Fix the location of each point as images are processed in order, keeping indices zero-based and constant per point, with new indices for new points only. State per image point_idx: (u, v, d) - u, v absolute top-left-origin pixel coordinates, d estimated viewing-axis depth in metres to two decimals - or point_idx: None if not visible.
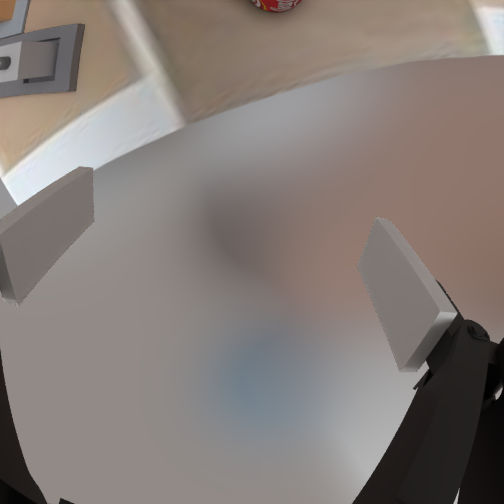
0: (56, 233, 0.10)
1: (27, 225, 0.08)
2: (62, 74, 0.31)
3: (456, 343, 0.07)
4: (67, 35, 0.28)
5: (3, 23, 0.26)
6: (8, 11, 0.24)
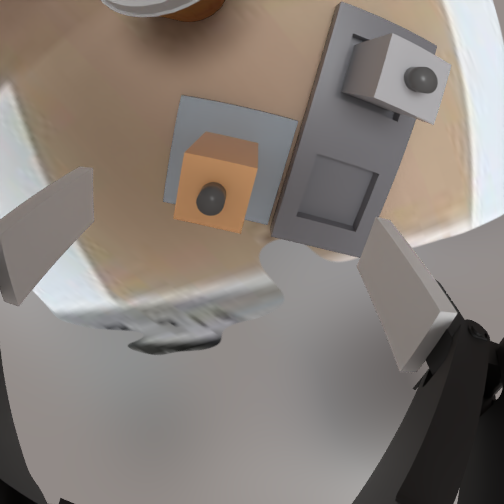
0: (56, 233, 0.10)
1: (27, 225, 0.08)
2: None
3: (456, 343, 0.07)
4: (355, 21, 0.20)
5: None
6: (243, 142, 0.27)
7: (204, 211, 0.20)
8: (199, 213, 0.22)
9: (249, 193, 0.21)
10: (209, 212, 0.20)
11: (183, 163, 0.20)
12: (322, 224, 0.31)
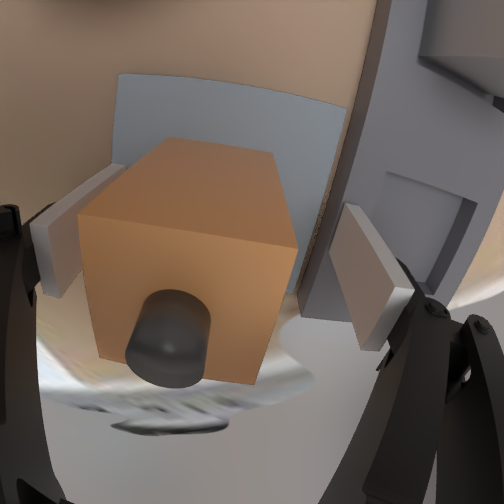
0: None
1: (71, 218, 0.09)
2: None
3: (414, 322, 0.07)
4: None
5: None
6: (243, 154, 0.13)
7: (154, 380, 0.07)
8: None
9: (274, 312, 0.08)
10: (167, 382, 0.07)
11: (82, 243, 0.07)
12: None
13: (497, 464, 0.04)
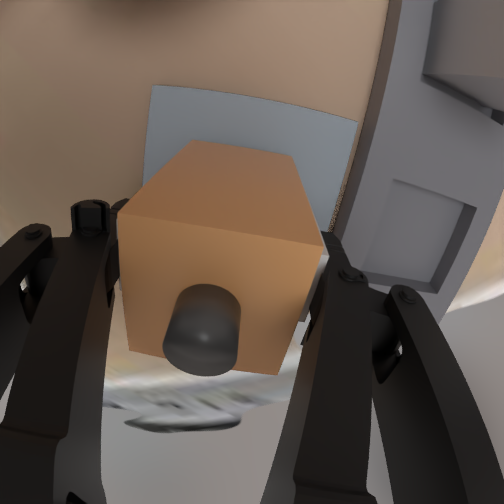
0: None
1: None
2: None
3: (327, 292, 0.08)
4: None
5: None
6: (264, 157, 0.14)
7: (188, 368, 0.07)
8: None
9: (299, 305, 0.08)
10: (201, 370, 0.07)
11: (121, 240, 0.07)
12: None
13: (449, 448, 0.04)
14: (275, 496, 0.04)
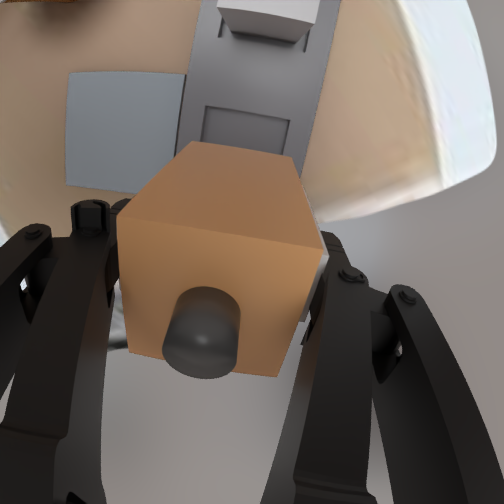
0: None
1: None
2: None
3: (327, 292, 0.08)
4: None
5: (145, 131, 0.24)
6: (264, 158, 0.14)
7: (187, 371, 0.07)
8: None
9: (299, 307, 0.08)
10: (200, 373, 0.07)
11: (120, 243, 0.07)
12: None
13: (449, 449, 0.04)
14: (275, 496, 0.04)
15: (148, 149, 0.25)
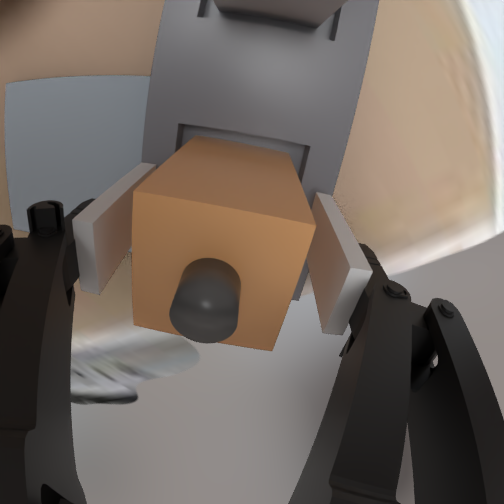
0: (129, 225, 0.12)
1: (112, 215, 0.10)
2: None
3: (372, 305, 0.08)
4: None
5: (99, 161, 0.16)
6: (263, 152, 0.15)
7: (191, 335, 0.08)
8: None
9: (294, 280, 0.09)
10: (203, 337, 0.08)
11: (134, 216, 0.08)
12: None
13: (474, 455, 0.04)
14: (306, 500, 0.04)
15: (105, 186, 0.17)
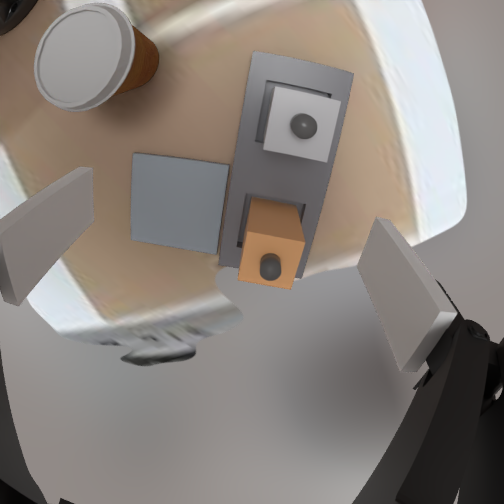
0: (56, 233, 0.10)
1: (27, 225, 0.08)
2: (326, 79, 0.26)
3: (456, 343, 0.07)
4: (267, 67, 0.26)
5: (198, 206, 0.35)
6: (284, 207, 0.33)
7: (266, 277, 0.27)
8: (258, 276, 0.28)
9: (298, 260, 0.28)
10: (269, 278, 0.27)
11: (246, 239, 0.27)
12: None
13: None
14: None
15: (200, 219, 0.36)
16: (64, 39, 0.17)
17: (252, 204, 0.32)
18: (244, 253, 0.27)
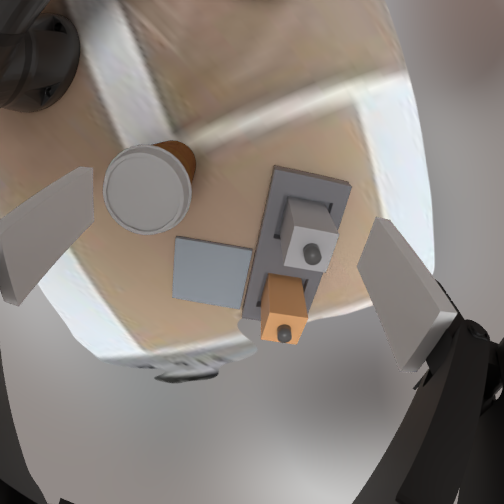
0: (56, 233, 0.10)
1: (27, 225, 0.08)
2: (330, 192, 0.38)
3: (456, 343, 0.07)
4: (285, 183, 0.38)
5: (227, 277, 0.47)
6: (293, 281, 0.45)
7: (281, 341, 0.39)
8: (275, 337, 0.41)
9: (302, 328, 0.40)
10: (283, 341, 0.39)
11: (268, 316, 0.39)
12: None
13: None
14: None
15: (229, 285, 0.48)
16: (129, 177, 0.28)
17: (269, 281, 0.44)
18: (266, 324, 0.40)
